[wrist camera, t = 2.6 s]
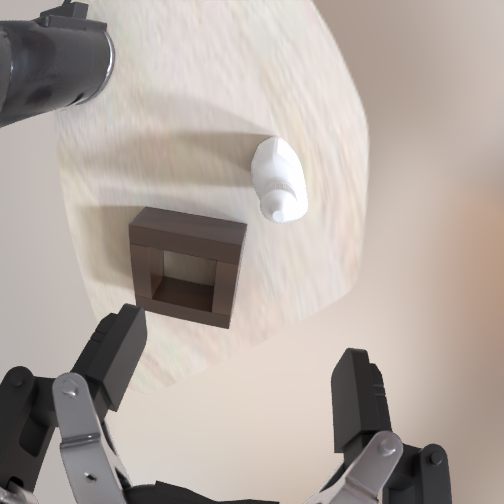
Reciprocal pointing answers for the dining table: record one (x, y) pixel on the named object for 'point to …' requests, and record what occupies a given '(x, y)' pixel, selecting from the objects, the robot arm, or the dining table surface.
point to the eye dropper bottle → (279, 181)
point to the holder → (191, 243)
